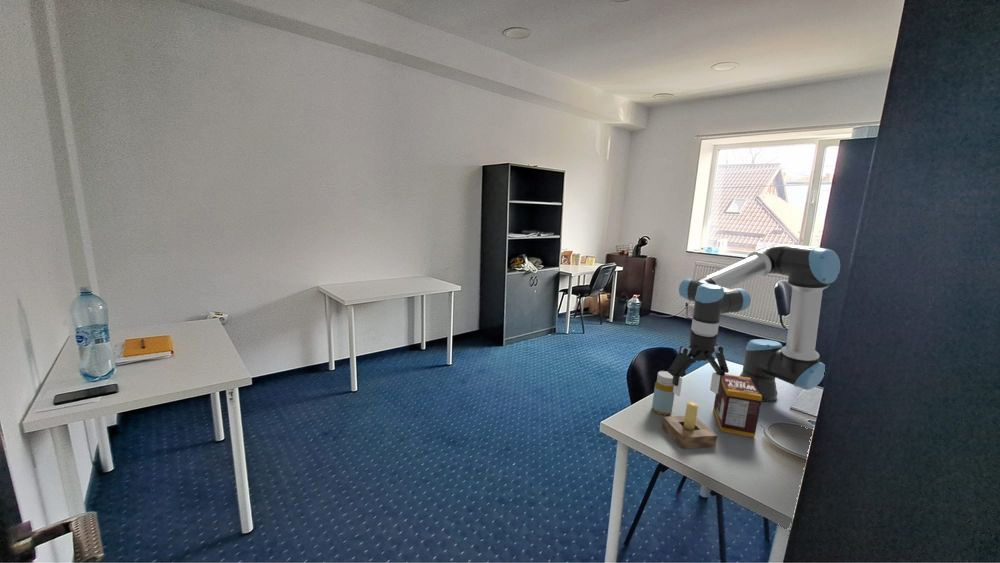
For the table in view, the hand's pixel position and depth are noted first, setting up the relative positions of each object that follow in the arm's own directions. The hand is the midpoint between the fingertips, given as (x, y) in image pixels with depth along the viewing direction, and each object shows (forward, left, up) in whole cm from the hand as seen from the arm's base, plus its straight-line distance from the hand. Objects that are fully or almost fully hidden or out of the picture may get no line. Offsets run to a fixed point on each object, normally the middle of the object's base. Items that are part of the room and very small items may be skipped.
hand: (695, 393), depth 128 cm
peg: (0, 0, -16) cm, 16 cm away
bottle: (0, -16, -16) cm, 23 cm away
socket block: (0, 0, -16) cm, 16 cm away
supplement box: (-22, -6, -16) cm, 28 cm away
